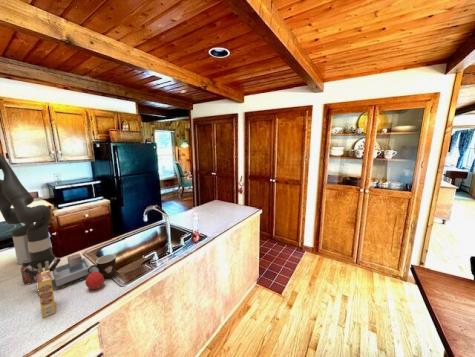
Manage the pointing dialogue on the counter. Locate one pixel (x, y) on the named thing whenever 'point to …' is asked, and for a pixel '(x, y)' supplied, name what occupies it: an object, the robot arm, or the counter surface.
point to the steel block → (75, 263)
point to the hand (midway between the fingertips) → (45, 281)
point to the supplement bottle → (25, 276)
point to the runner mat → (94, 269)
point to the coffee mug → (106, 266)
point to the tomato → (94, 280)
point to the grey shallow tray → (64, 275)
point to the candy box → (46, 293)
